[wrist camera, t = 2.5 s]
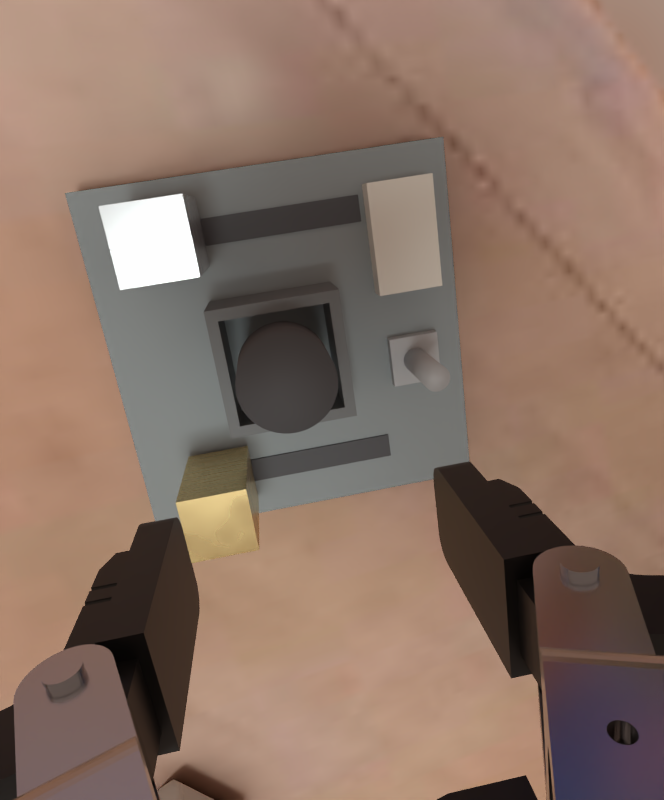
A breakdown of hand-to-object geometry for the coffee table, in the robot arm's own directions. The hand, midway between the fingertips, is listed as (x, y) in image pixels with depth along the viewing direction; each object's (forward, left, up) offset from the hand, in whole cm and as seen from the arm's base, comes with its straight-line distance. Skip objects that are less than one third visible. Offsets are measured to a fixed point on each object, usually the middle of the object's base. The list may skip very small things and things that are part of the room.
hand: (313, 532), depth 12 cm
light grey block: (+4, -6, -17) cm, 19 cm away
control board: (-1, 0, -19) cm, 19 cm away
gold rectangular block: (+4, +6, -17) cm, 19 cm away
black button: (0, 0, -14) cm, 14 cm away
